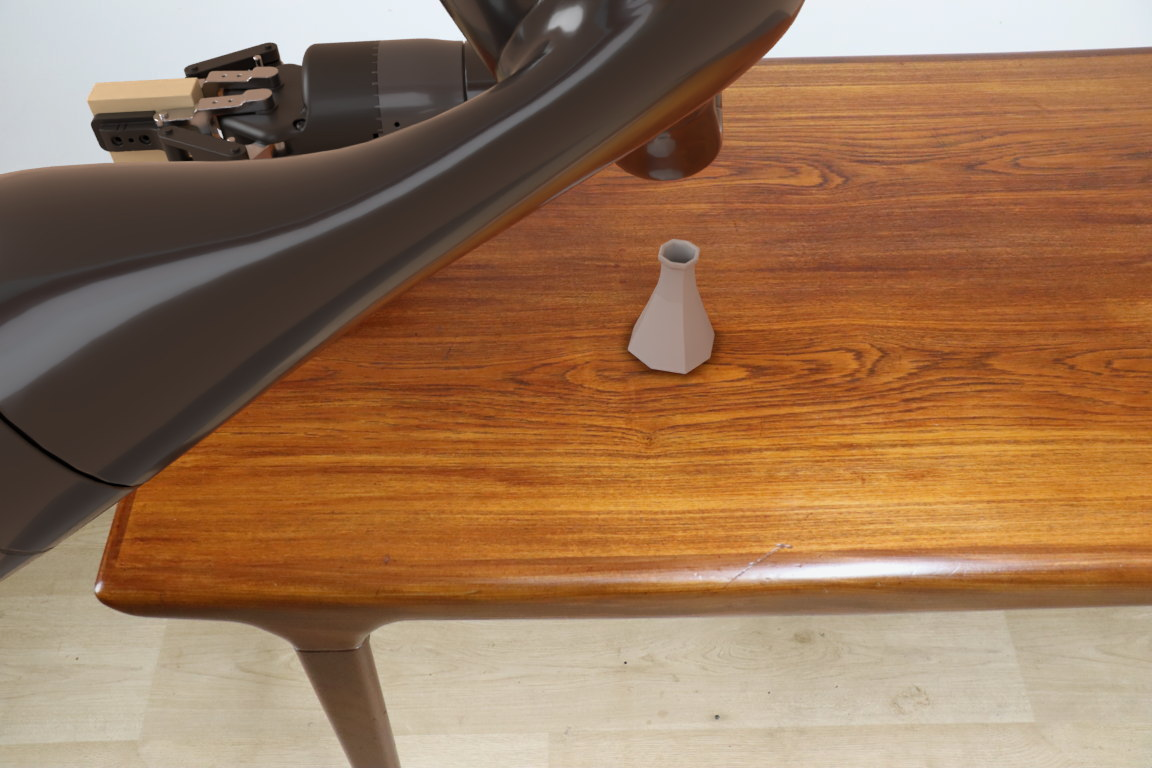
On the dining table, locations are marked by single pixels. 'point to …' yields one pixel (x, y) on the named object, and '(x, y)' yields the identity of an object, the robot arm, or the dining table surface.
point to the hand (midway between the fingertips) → (104, 121)
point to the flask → (674, 315)
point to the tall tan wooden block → (144, 105)
